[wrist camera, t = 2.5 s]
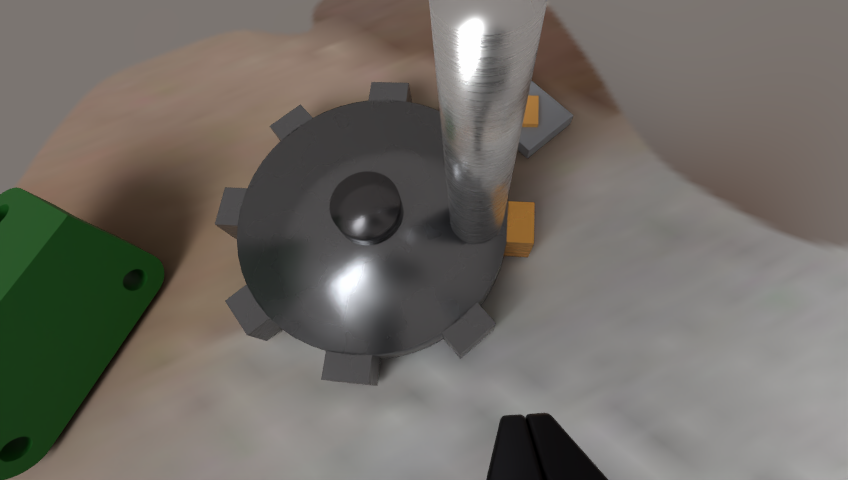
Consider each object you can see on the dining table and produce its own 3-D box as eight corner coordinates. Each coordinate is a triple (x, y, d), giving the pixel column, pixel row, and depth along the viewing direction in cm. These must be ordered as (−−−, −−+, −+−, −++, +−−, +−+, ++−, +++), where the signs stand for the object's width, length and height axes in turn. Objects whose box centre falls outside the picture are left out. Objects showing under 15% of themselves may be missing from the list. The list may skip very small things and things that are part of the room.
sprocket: (594, 241, 21) (801, -15, 8) (345, 459, 19) (65, 597, 6) (402, 62, 26) (336, -280, 13) (185, 218, 24) (-162, -6, 11)
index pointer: (569, 123, 24) (574, 111, 23) (527, 158, 23) (529, 147, 22) (518, 81, 25) (520, 67, 24) (477, 113, 25) (477, 100, 24)
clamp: (145, 283, 28) (46, 162, 22) (202, 317, 25) (108, 191, 19) (-80, 452, 21) (-319, 344, 15) (-35, 525, 18) (-305, 431, 12)
